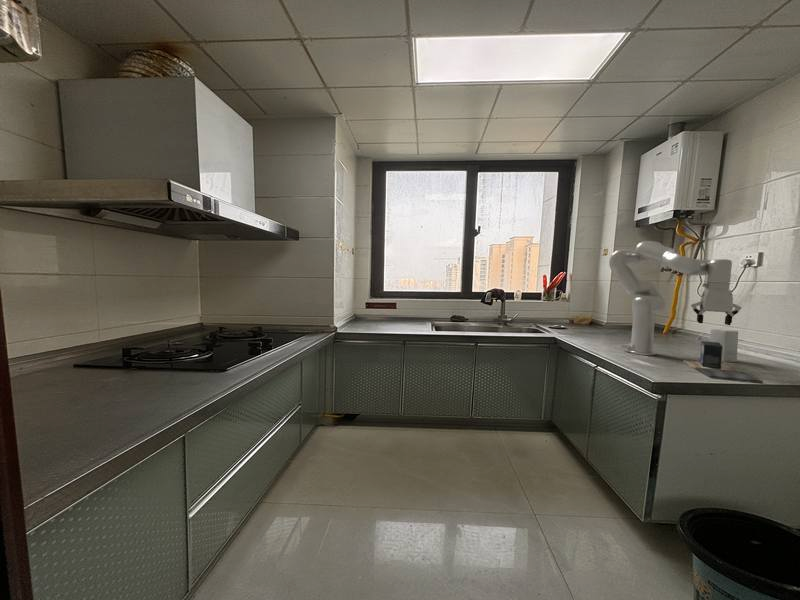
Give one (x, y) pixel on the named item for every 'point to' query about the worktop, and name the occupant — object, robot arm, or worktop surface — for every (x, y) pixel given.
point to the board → (722, 372)
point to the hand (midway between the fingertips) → (713, 323)
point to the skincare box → (726, 343)
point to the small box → (711, 354)
